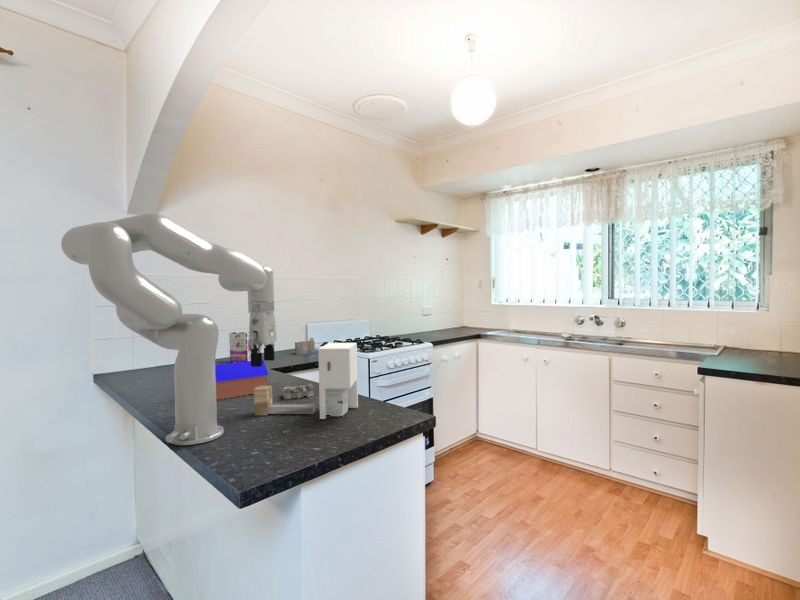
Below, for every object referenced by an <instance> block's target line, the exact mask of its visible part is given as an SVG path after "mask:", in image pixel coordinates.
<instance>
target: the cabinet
mask: <svg viewBox="0 0 800 600" xmlns="http://www.w3.org/2000/svg"><path fill="white" fill-rule="evenodd" d="M357 343H358V342H328V343H326V344H324V345H323V346H321V347H319V348H318V385H319V387H318V389H319V390H318V391H319V392H318V394H319V395H318V396H319V398H318V399H319V420H320V419H325V418H326V419H327V416H326V390H327V389H337V388H348V409H357V408H359V389H358V386H359V385H358V344H357ZM326 419H325V420H326Z"/></svg>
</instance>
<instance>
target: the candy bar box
mask: <svg viewBox="0 0 800 600" xmlns="http://www.w3.org/2000/svg"><path fill="white" fill-rule="evenodd" d="M248 340H249V331H231V332H229V363H230V362H245V361H251V353H250V348H249V342H248Z"/></svg>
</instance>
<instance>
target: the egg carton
mask: <svg viewBox="0 0 800 600" xmlns="http://www.w3.org/2000/svg"><path fill="white" fill-rule="evenodd" d="M314 391H315V389H314V387H313V384H312V383H309V384H304V385H301V384H299V385H297V386H285V387H283V388H282V397H283V396H284V397H283V400H287V399H291V398H293V397H297V398H296V399H298V398H300V397H303V398H305V397H304V396H307V397H306V398H308V397H309V398H311V397H310V396H312V397H314V396H313V395H314ZM285 398H286V399H285ZM293 399H294V398H293ZM300 399H301V398H300ZM291 400H292V399H291Z"/></svg>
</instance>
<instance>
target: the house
mask: <svg viewBox="0 0 800 600" xmlns="http://www.w3.org/2000/svg"><path fill="white" fill-rule="evenodd" d="M215 374H216V401H218V400H217V399H221V400H225V399H224V398H227V399H231V398H230V397H234V398H237V397H236V396H240V397H243V396H242V395H246V396H249V395H248V394H253V395H254V389H255V388H256V387H258V386H268V376H269V373H268V370H267V367H266V364H265V360H264V359H262V366H261V367H252V366H251V361H245V362H236V363H230V362H228V363H218V364H215Z"/></svg>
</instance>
